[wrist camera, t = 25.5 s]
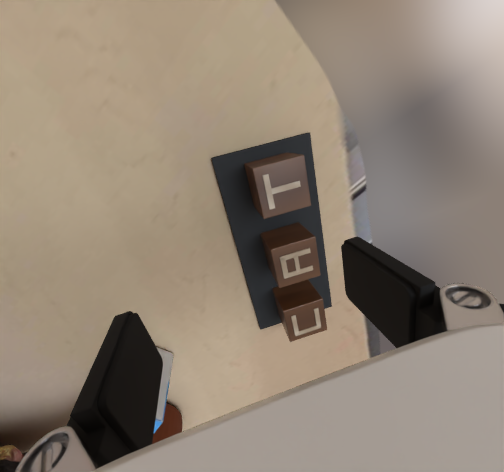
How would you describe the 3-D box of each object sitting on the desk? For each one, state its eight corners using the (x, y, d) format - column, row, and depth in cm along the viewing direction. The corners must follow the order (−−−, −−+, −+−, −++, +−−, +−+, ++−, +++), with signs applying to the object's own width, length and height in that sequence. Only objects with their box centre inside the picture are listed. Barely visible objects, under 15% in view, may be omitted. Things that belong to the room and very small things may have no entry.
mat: (330, 304, 33) (331, 306, 33) (259, 327, 32) (260, 329, 32) (308, 132, 24) (310, 132, 24) (211, 158, 24) (211, 158, 23)
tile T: (294, 195, 26) (311, 206, 22) (254, 206, 26) (263, 219, 21) (287, 152, 24) (304, 154, 20) (243, 163, 24) (252, 168, 20)
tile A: (304, 256, 29) (321, 276, 25) (268, 267, 29) (279, 289, 24) (298, 221, 27) (316, 236, 23) (260, 233, 27) (270, 250, 23)
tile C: (311, 305, 32) (327, 330, 28) (278, 315, 32) (290, 342, 27) (306, 277, 30) (323, 299, 26) (272, 287, 30) (283, 312, 26)
